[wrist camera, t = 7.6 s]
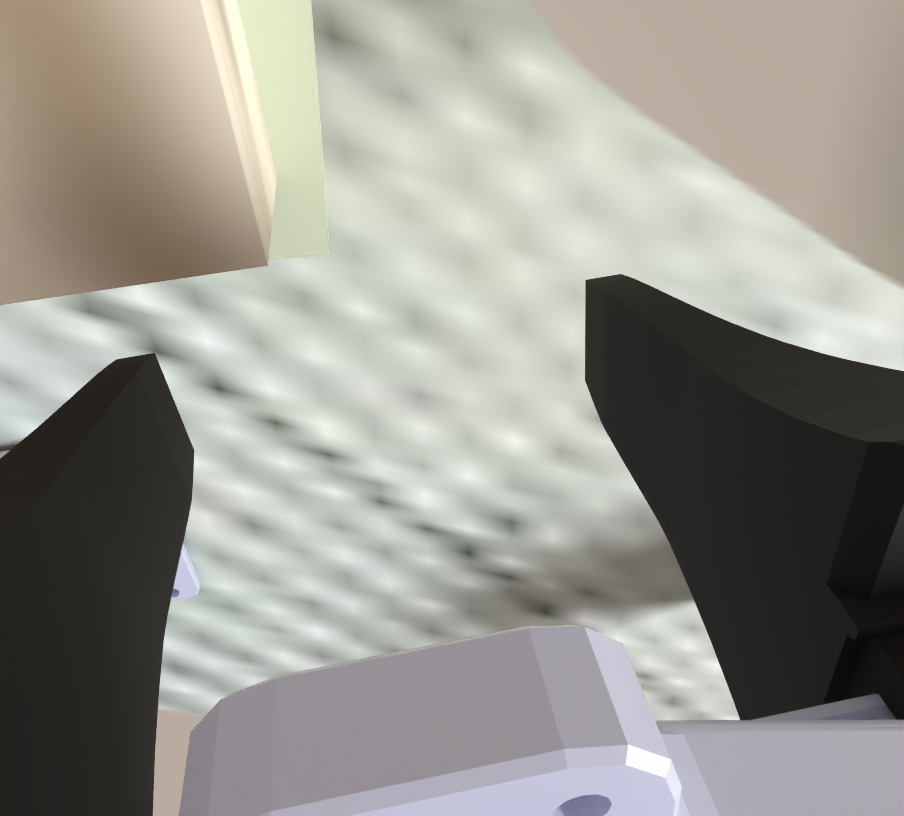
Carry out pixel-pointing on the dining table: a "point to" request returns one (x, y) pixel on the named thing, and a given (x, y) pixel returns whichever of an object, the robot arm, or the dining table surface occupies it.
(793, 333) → the dining table surface
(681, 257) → the dining table surface
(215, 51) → the cream cube
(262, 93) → the sage base block
